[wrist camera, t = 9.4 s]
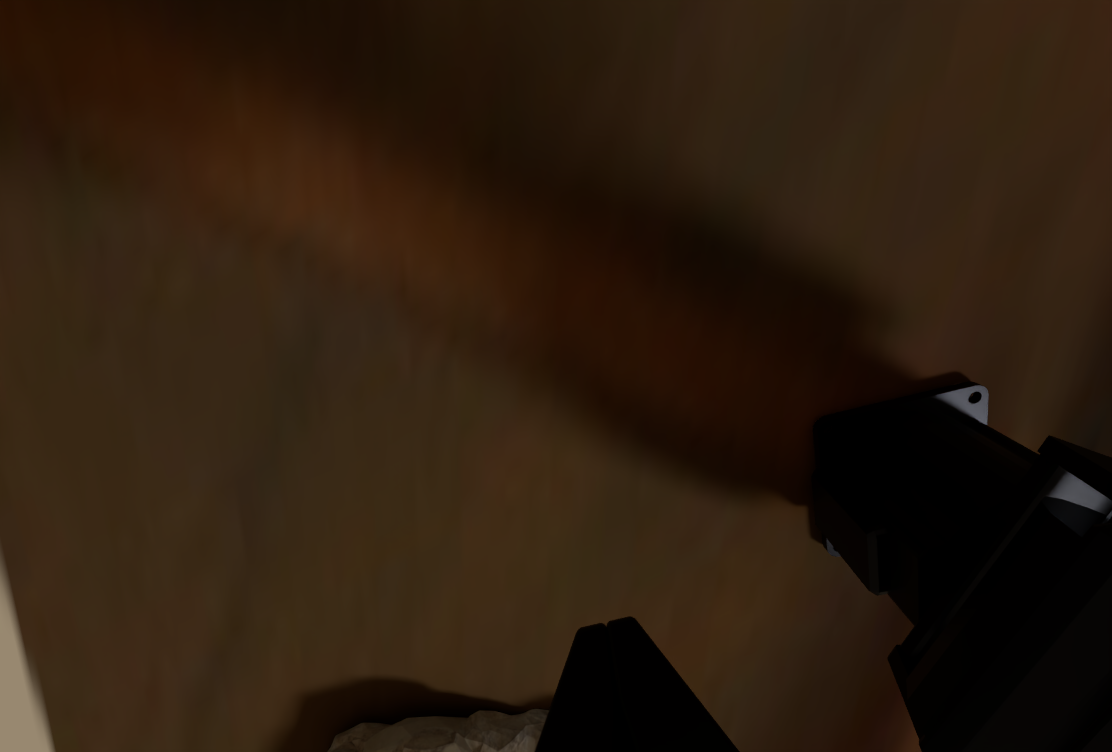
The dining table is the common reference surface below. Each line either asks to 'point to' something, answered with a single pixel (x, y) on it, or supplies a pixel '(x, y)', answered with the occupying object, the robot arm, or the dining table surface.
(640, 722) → the robot arm
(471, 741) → the clay tablet
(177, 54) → the dining table surface
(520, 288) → the dining table surface
